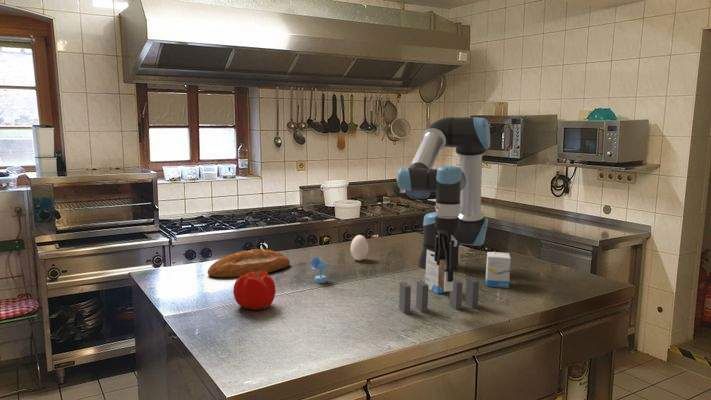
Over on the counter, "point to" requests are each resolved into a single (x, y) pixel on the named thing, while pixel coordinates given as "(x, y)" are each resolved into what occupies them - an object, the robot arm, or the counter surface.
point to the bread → (248, 263)
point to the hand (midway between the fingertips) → (444, 287)
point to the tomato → (254, 290)
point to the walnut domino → (442, 273)
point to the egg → (359, 247)
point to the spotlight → (319, 265)
